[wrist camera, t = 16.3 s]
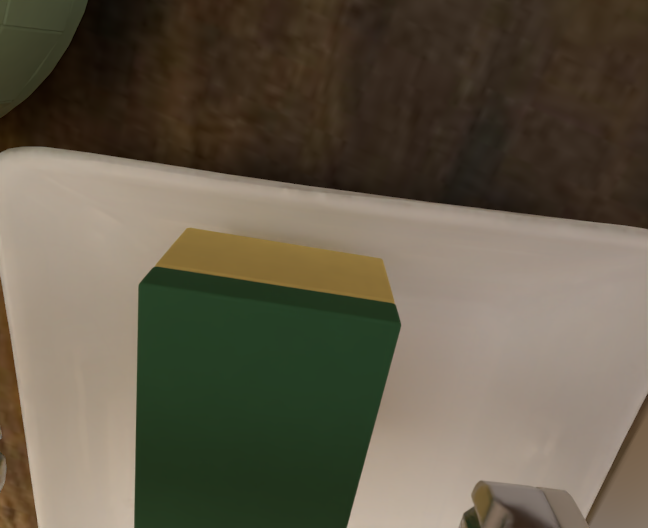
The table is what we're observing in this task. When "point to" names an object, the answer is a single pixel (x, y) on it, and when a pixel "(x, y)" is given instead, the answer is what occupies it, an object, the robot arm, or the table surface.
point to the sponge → (257, 382)
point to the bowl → (33, 44)
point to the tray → (410, 352)
